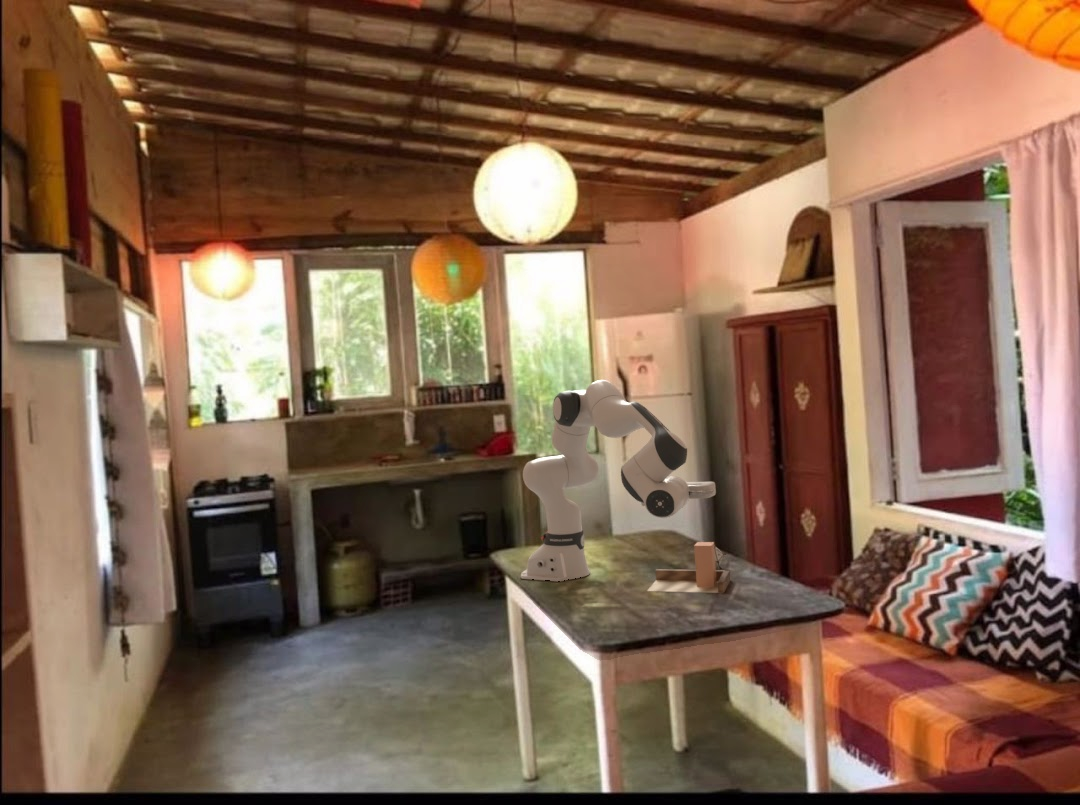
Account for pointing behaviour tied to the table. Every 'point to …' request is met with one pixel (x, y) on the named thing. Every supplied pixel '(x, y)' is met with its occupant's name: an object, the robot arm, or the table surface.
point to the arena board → (687, 581)
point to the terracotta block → (705, 564)
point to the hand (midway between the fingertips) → (682, 485)
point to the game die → (718, 557)
